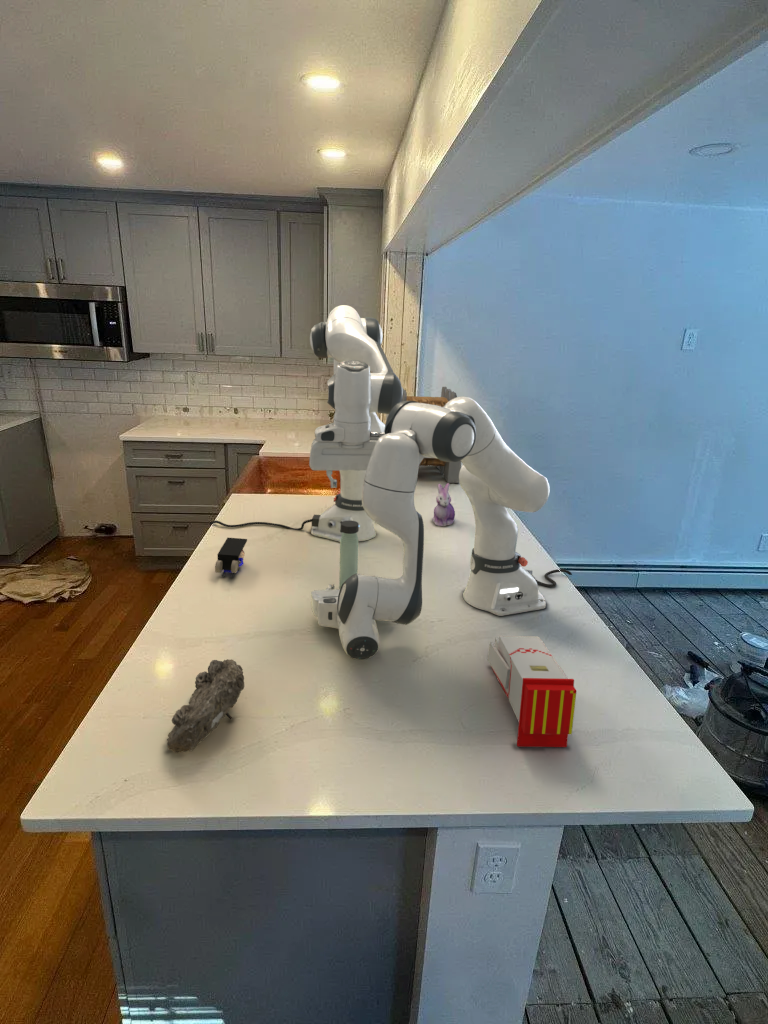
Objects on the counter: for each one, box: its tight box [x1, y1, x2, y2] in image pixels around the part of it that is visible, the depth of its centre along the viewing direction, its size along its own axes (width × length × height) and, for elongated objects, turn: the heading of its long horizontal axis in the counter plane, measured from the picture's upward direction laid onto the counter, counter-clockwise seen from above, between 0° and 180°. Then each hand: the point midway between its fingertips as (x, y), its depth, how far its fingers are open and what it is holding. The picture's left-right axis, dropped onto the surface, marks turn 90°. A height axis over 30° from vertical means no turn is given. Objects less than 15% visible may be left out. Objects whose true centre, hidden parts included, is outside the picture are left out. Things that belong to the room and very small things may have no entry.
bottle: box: [338, 533, 359, 589], centre depth 147 cm, size 5×5×23 cm
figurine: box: [432, 482, 456, 527], centre depth 210 cm, size 9×10×15 cm
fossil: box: [166, 658, 245, 754], centre depth 106 cm, size 22×10×15 cm
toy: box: [486, 635, 577, 748], centre depth 115 cm, size 12×13×30 cm
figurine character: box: [214, 537, 248, 578], centre depth 166 cm, size 7×8×15 cm
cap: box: [341, 520, 359, 534], centre depth 143 cm, size 4×5×2 cm
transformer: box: [385, 386, 462, 484], centre depth 268 cm, size 34×33×41 cm
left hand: (350, 487), depth 140 cm, fingers open, 7 cm apart
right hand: (347, 585), depth 150 cm, fingers open, 7 cm apart
